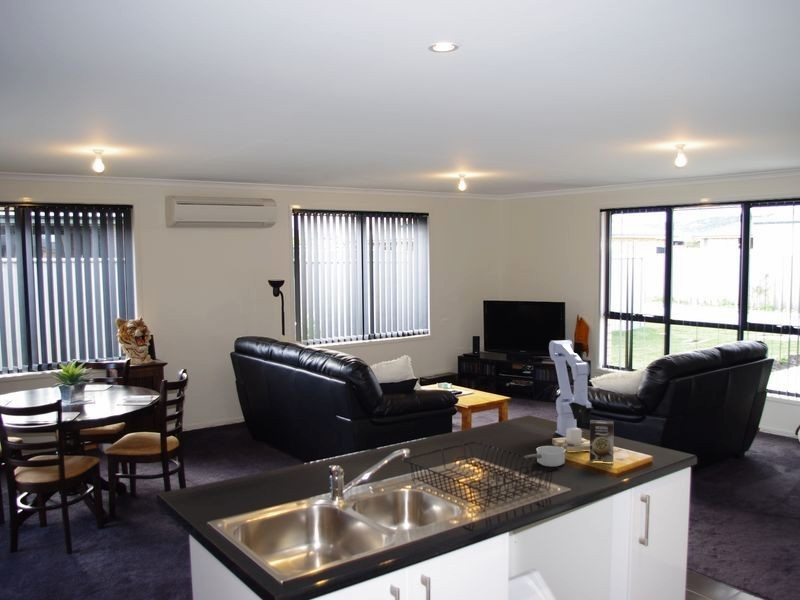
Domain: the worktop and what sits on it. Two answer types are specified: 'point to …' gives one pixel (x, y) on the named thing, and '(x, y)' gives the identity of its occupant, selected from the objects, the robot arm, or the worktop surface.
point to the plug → (574, 435)
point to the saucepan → (549, 456)
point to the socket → (571, 447)
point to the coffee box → (601, 440)
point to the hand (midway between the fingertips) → (580, 420)
